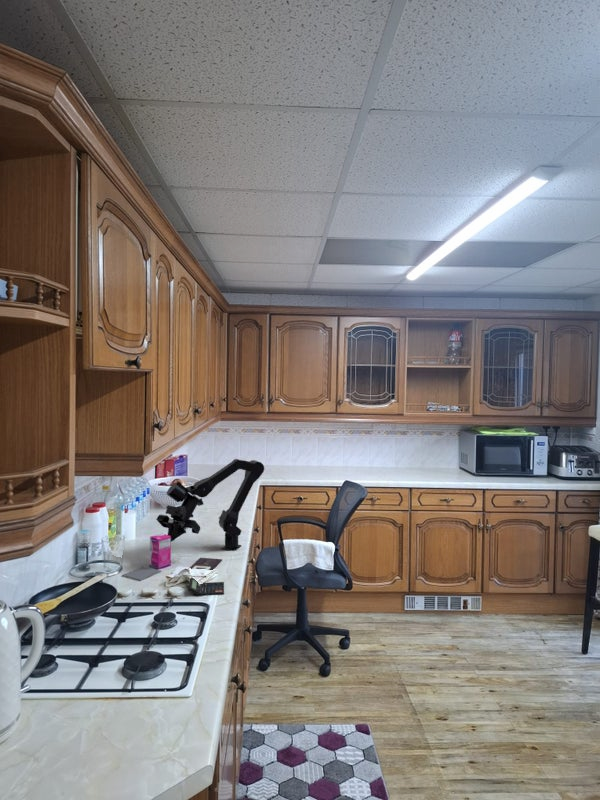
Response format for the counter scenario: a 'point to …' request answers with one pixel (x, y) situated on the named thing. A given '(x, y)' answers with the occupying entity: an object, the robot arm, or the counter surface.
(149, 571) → the mat
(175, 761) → the counter surface
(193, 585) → the calculator
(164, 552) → the supplement box
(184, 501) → the robot arm
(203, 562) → the chocolate bar
